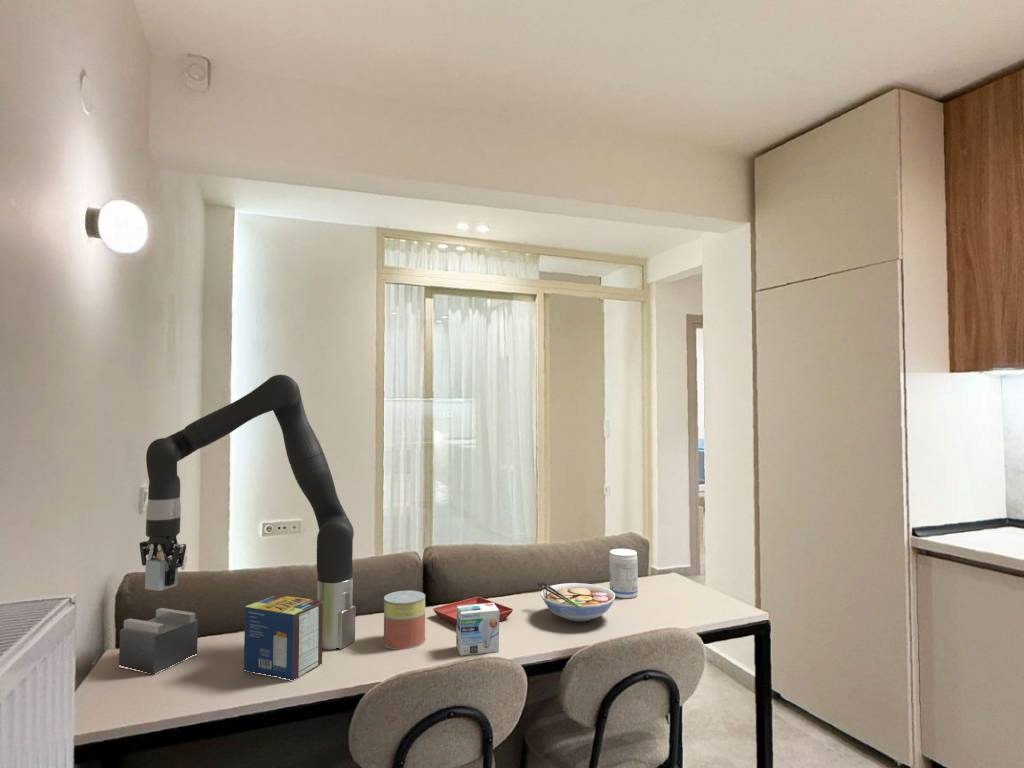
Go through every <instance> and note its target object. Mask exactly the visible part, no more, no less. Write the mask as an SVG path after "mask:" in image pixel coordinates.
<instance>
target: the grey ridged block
mask: <svg viewBox="0 0 1024 768" xmlns="http://www.w3.org/2000/svg"><path fill="white" fill-rule="evenodd" d="M198 638H199V619H196V612H190V611H184V610H179V609H178V610H177V609H172V608H166V607H159V608H157V609H155V617H154V618H151V619H148V620H141V619H135V618H126V619H124V620H123V628H122V629H119V647H118V648H119V649H118V650H119V653H118V666H119V665H121V666H124V667H128V668H132V669H136V670H140V671H143V672H147V673H151V674H155V673H157V672H159V671H161V670H163V669H166V668H168V667H170V666H172V665H174V664H176V663H178V662H181V661H183V660H185V659H186V658H188V657H190V656H192V655H195V654H197V655H198V642H199V641H198ZM168 669H169V668H168ZM166 670H167V669H166ZM159 673H160V672H159ZM151 674H150V675H151ZM157 674H158V673H157ZM155 675H156V674H155Z"/></svg>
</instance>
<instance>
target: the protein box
mask: <svg viewBox="0 0 1024 768" xmlns="http://www.w3.org/2000/svg"><path fill="white" fill-rule="evenodd" d="M322 616H323V601H320V600H317V599H311V598H304V597H303V598H302V597H296V596H290V595H289V596H287V595H281V594H274V595H272V596H269V597H267V598H264V599H261V600H259V601H256V602H252V603H250V604H248V605H245V606H244V640H243V641H244V643H243V645H244V646H243V649H244V650H243V671H244V670H246V671H250V672H255V673H261V674H266V675H271V676H277V677H281V678H286V679H290V680H294V679H296V678H297V679H299V678H300V677H299V676H301V675H302V676H304V675H306V674H307V673H309V672H311V671H313V670H314V669H316V668H318V667H319V666H321V665H322V664H323V649H322ZM320 664H321V665H320ZM318 665H319V666H318ZM317 666H318V667H317ZM315 667H316V668H315ZM313 668H314V669H313ZM312 669H313V670H312ZM310 670H311V671H310ZM246 671H245V672H246ZM308 671H309V672H308ZM250 672H249V673H250ZM306 672H307V673H306ZM255 673H254V674H255ZM305 673H306V674H305ZM303 674H304V675H303ZM302 676H301V677H302ZM298 677H299V678H298ZM297 679H296V680H297ZM294 681H295V680H294Z"/></svg>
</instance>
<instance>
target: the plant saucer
mask: <svg viewBox="0 0 1024 768" xmlns="http://www.w3.org/2000/svg"><path fill="white" fill-rule="evenodd" d="M485 603H494V604H495V605H496V607H497V608H498V609H499V622H500V620H501V621H504V620H507V618H508V617H509V616H510V615H511V614H512V613H513V611H514V608H513V607H512V608H511V607H509V606H506V605H503V604H500V603H498V602H494V601H492V600H490V599H486V598H484V597H481V596H475V597H471V598H467V599H463V600H460V601H456V602H452V603H448V604H444V605H440V606H436V607H433V608H432V610H433V611H434V613H435V614H436V616H437V617H439V618H440V619H441V618H442V619H441V620H443V619H444V621H445V622H448V623H450V624H453V625H454V626H457V606H463V605H474V604H485ZM503 619H504V620H503Z"/></svg>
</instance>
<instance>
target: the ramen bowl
mask: <svg viewBox="0 0 1024 768" xmlns="http://www.w3.org/2000/svg"><path fill="white" fill-rule="evenodd" d="M536 585H537V586H538V587H540V588H542V590H541V591H540V596H541V599H542V600H543V602H544V603H545V605H546V606H547V608H548V609H549V610H550V611H551V613H553V614H555V615H556V616H558V617H560V618H562V619H565V620H567V621H569V622H573V623H585V621H586V622H588V621H590V620H594V619H598V618H599V617H601V616H602V615H604V614H605V613H607V612H608V610H609V609H610V608H611V607H612V605H613V603H614V601H615V599H616V597H615V593H614V592H613V591H611V590H610V588H607V587H605V586H602V585H597V584H591V583H582V582H581V583H580V582H579V583H578V582H568V583H559V584H558V583H557V584H553V585H549V584H547V583H546V582H544V581H542V582H541V583H540V582H536Z"/></svg>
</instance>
